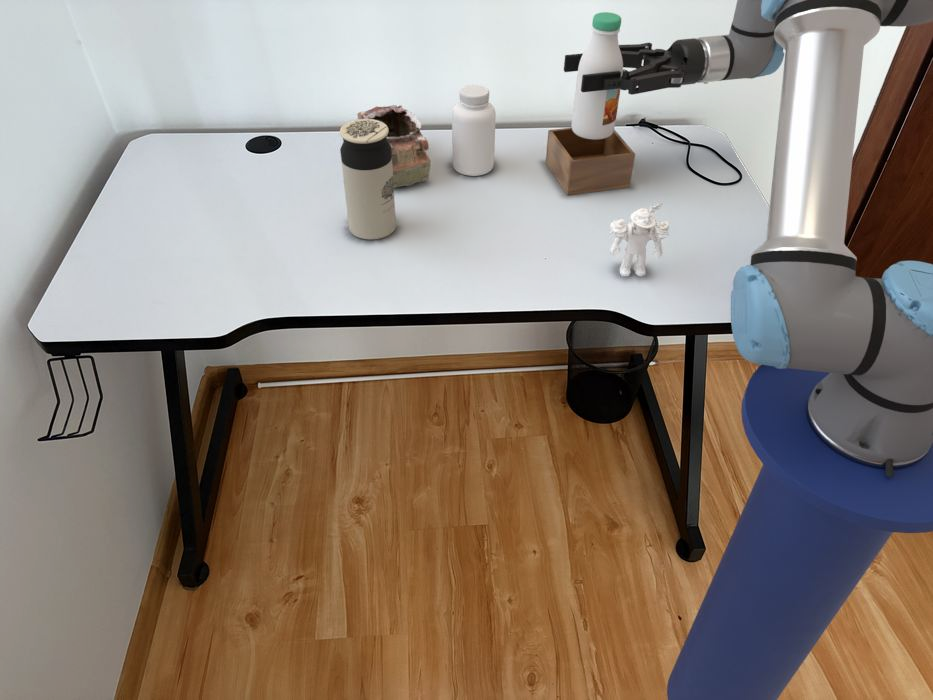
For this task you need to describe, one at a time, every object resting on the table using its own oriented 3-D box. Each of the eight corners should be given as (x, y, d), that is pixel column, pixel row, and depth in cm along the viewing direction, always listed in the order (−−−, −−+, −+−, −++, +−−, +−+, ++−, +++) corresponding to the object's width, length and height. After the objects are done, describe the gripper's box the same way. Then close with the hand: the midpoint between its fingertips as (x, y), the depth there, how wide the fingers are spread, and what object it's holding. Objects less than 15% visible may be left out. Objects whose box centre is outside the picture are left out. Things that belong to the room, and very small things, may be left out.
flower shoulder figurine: (658, 264, 122) (672, 199, 114) (662, 279, 119) (677, 214, 111) (602, 263, 122) (612, 198, 114) (604, 278, 119) (615, 212, 111)
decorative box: (361, 197, 136) (356, 148, 129) (343, 146, 150) (338, 99, 143) (432, 188, 138) (431, 139, 132) (408, 138, 153) (406, 91, 146)
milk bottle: (586, 144, 133) (601, 27, 119) (562, 126, 138) (574, 12, 124) (622, 135, 135) (641, 20, 122) (597, 117, 140) (613, 5, 127)
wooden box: (629, 187, 139) (635, 153, 135) (567, 195, 137) (571, 161, 132) (604, 155, 148) (609, 123, 143) (545, 162, 146) (548, 130, 141)
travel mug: (339, 229, 128) (327, 131, 116) (371, 209, 133) (362, 112, 121) (374, 246, 125) (365, 146, 112) (405, 225, 129) (400, 127, 117)
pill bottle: (473, 152, 149) (475, 77, 138) (502, 167, 144) (506, 91, 134) (443, 165, 145) (442, 89, 134) (472, 181, 140) (473, 104, 130)
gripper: (719, 106, 128) (593, 121, 123) (666, 59, 142) (551, 70, 138) (730, 62, 123) (599, 76, 118) (674, 18, 137) (555, 28, 133)
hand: (573, 73), depth 128 cm, fingers closed on milk bottle, 8 cm apart
